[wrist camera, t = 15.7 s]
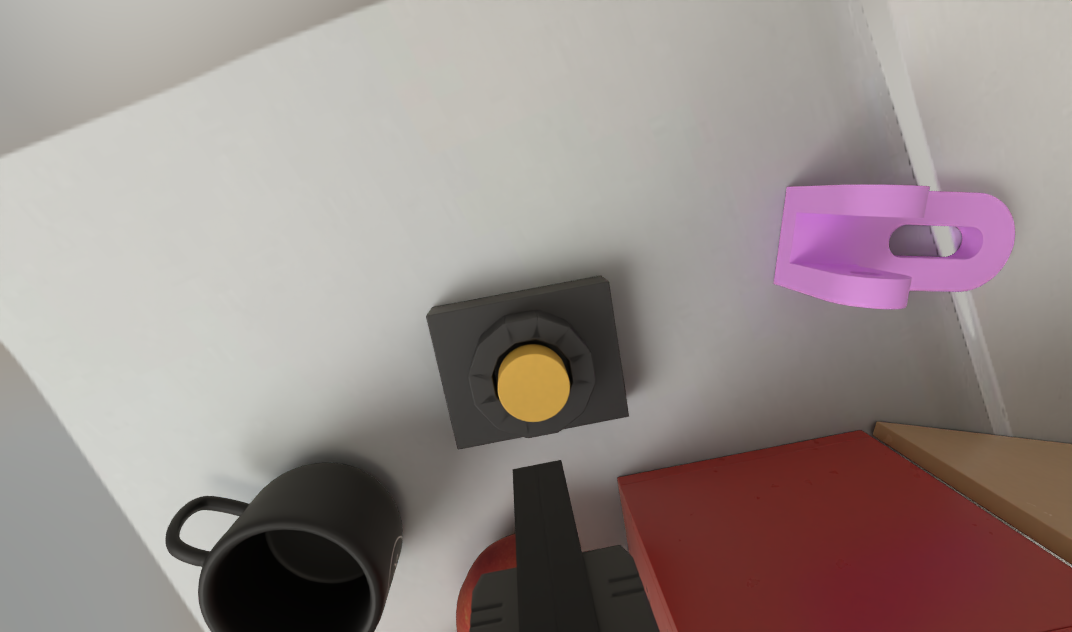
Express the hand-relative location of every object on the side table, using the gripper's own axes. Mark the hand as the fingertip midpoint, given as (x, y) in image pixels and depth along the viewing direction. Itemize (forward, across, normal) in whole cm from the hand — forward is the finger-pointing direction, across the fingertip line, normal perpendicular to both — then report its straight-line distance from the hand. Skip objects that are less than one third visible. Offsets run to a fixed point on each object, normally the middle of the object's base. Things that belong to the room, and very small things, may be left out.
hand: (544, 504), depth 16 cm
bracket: (+15, +22, +3) cm, 27 cm away
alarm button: (+12, 0, 0) cm, 12 cm away
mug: (+16, -15, -7) cm, 23 cm away
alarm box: (+15, 0, 0) cm, 15 cm away
